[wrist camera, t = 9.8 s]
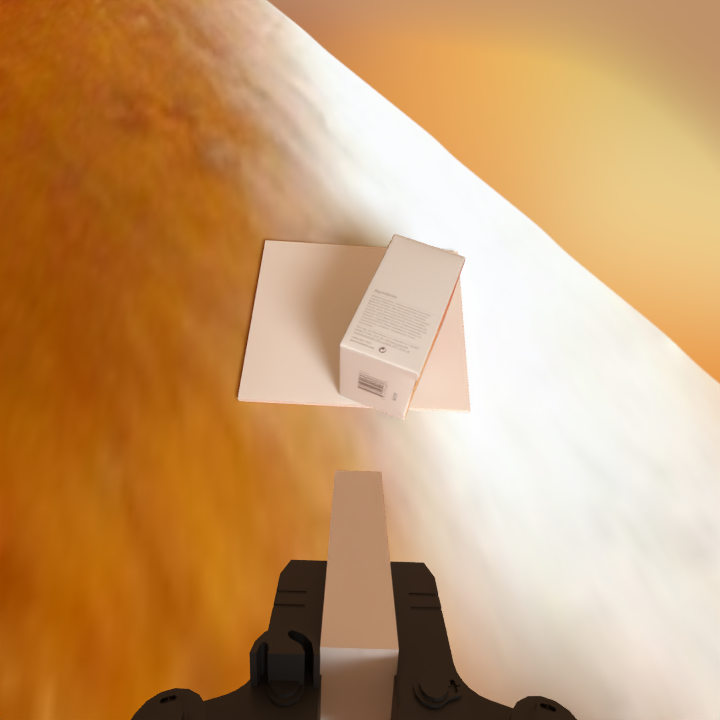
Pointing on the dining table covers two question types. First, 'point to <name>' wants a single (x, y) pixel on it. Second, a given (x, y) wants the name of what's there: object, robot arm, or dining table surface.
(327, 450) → the dining table surface
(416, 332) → the small box
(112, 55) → the dining table surface
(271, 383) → the beige mat
